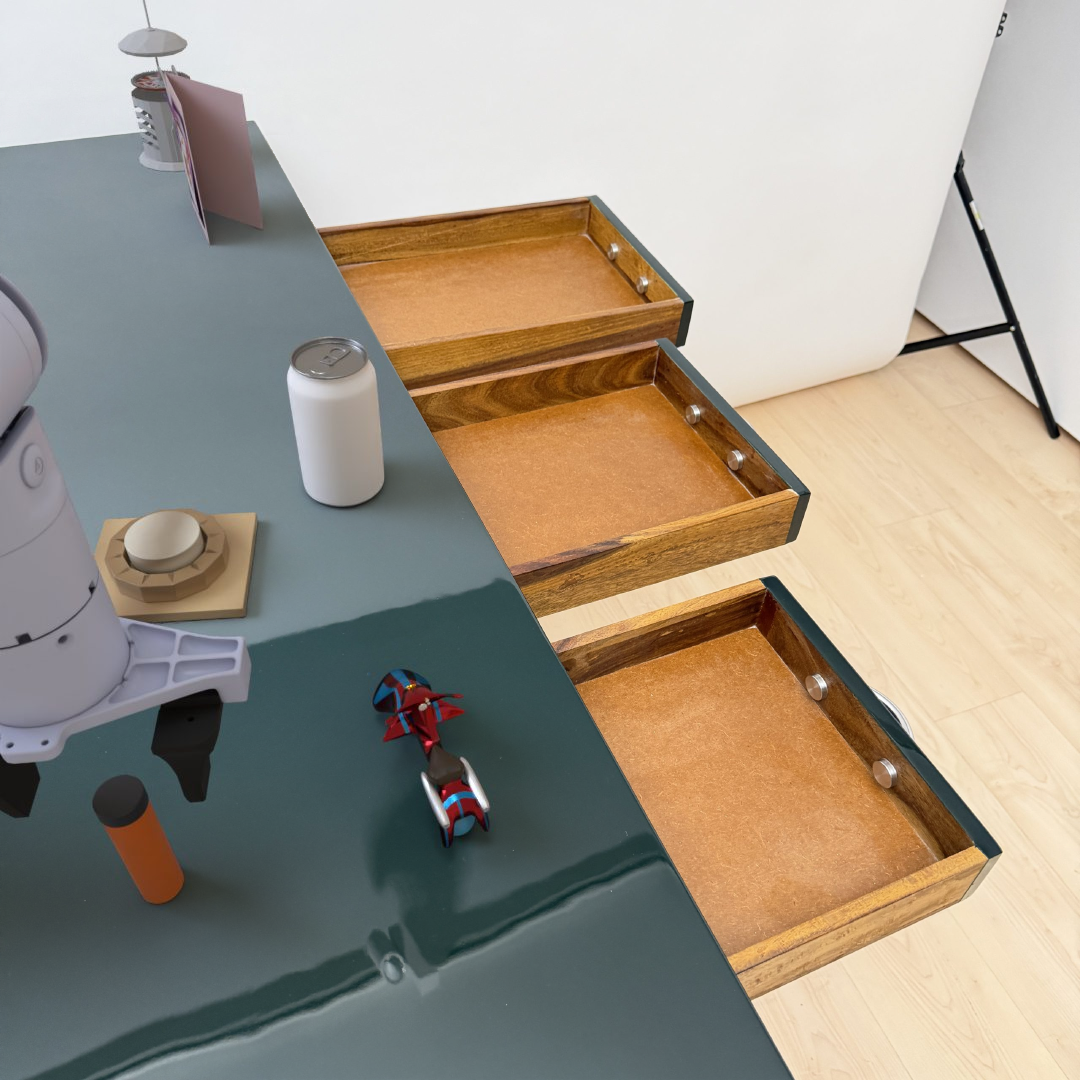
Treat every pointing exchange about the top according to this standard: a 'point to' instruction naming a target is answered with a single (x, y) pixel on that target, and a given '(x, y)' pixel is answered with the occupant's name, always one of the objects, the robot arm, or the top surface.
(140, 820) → the marker
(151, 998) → the top surface
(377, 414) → the can
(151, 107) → the french press
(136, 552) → the circle pad
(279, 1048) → the top surface
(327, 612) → the top surface
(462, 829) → the hoverbike
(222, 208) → the greeting card
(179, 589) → the button housing
